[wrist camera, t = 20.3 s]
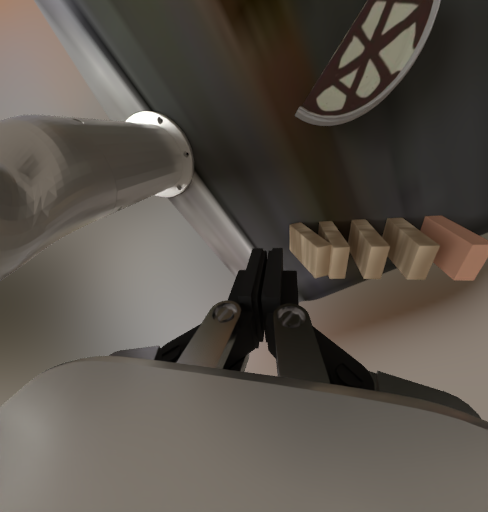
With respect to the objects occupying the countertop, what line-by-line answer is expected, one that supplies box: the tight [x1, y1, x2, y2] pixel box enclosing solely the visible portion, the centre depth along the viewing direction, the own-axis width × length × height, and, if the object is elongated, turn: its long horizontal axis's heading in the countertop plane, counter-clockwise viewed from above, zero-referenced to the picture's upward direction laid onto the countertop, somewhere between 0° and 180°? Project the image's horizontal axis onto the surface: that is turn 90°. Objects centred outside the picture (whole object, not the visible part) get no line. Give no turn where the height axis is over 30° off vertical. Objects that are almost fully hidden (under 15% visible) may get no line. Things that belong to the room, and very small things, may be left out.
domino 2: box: [318, 221, 350, 279], centre depth 30 cm, size 2×5×9 cm, turn 8°
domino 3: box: [348, 219, 390, 279], centre depth 29 cm, size 2×5×9 cm, turn 8°
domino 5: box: [420, 216, 488, 281], centre depth 26 cm, size 2×5×9 cm, turn 7°
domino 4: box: [382, 218, 440, 280], centre depth 27 cm, size 2×5×9 cm, turn 7°
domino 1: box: [290, 222, 332, 278], centre depth 30 cm, size 2×5×9 cm, turn 8°
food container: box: [295, 0, 441, 126], centre depth 19 cm, size 12×6×10 cm, turn 148°
